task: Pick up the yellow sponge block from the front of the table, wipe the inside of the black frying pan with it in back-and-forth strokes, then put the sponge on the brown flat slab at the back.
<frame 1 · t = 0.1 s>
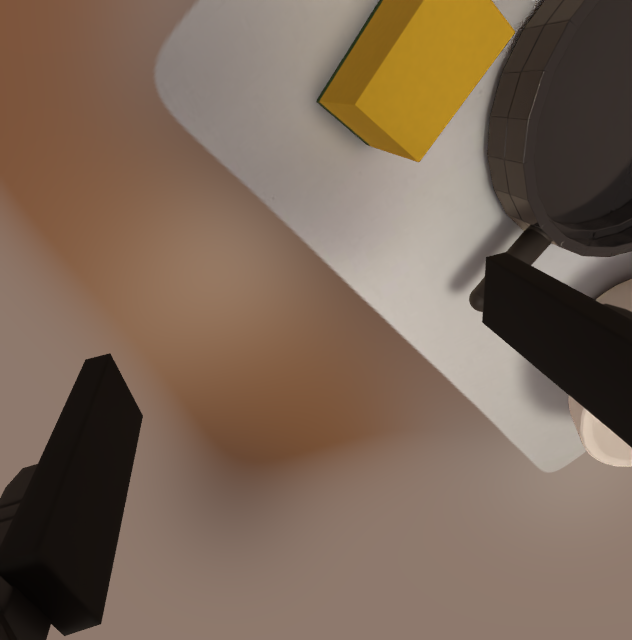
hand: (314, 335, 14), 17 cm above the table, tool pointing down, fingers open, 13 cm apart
sponge: (375, 74, 26), on the table
pan: (603, 111, 31), on the table
bowl: (610, 332, 43), on the table
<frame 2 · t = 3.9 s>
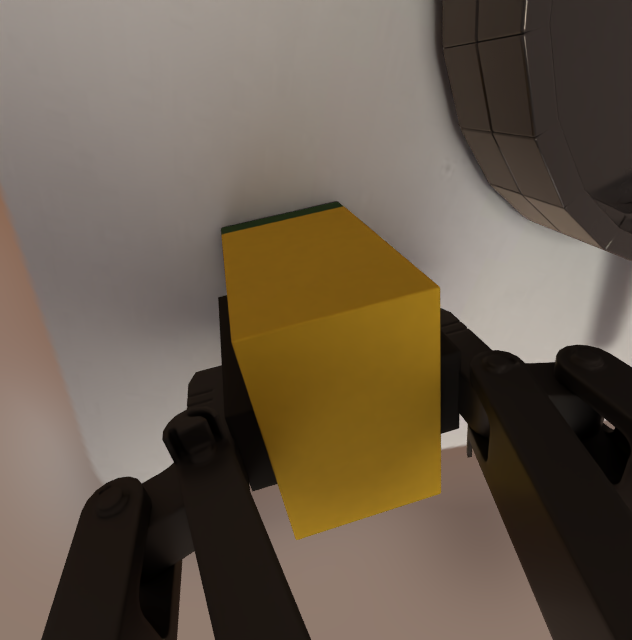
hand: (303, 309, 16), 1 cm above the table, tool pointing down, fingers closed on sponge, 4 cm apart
sponge: (297, 296, 17), on the table, touching gripper
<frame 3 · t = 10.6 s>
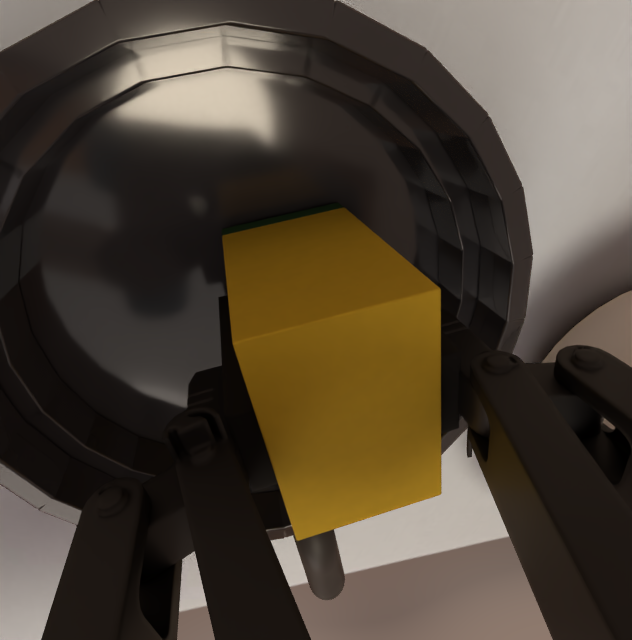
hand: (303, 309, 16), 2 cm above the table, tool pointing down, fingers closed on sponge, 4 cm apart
sponge: (297, 297, 17), point 1 cm above the table, touching gripper
pan: (252, 300, 17), on the table
bowl: (607, 374, 25), on the table
when the fingers open (2 cm above the table, at t = 17.7 s): sponge stays where it is, resting on brown flat slab.
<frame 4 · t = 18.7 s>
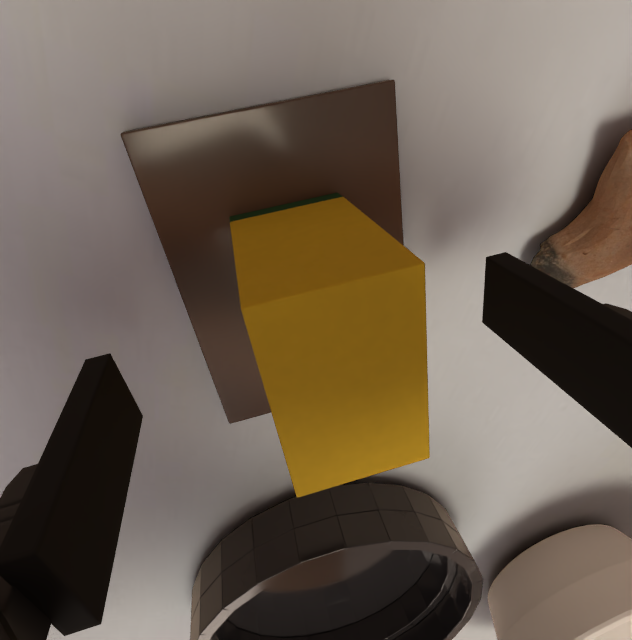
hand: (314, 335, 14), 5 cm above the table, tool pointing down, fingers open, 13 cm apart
oil lamp: (604, 199, 20), on the table
sponge: (299, 281, 18), point 1 cm above the table, touching brown flat slab
brown flat slab: (295, 276, 19), on the table
pan: (329, 568, 31), on the table
bowl: (547, 562, 39), on the table
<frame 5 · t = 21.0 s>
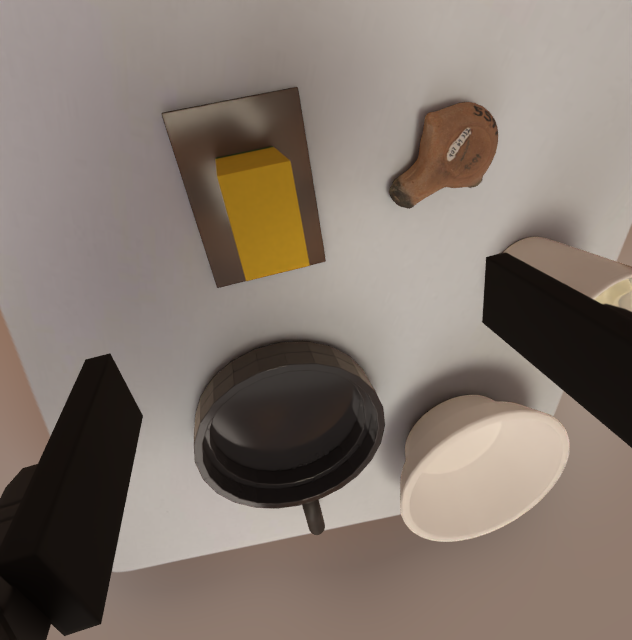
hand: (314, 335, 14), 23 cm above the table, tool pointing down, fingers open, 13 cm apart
oil lamp: (433, 154, 36), on the table
sponge: (254, 197, 33), point 1 cm above the table, touching brown flat slab
candle holder: (521, 272, 44), on the table
brown flat slab: (253, 195, 34), on the table
pan: (286, 413, 46), on the table
bowl: (450, 431, 54), on the table
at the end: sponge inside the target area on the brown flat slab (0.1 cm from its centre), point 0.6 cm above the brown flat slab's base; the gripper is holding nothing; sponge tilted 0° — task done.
